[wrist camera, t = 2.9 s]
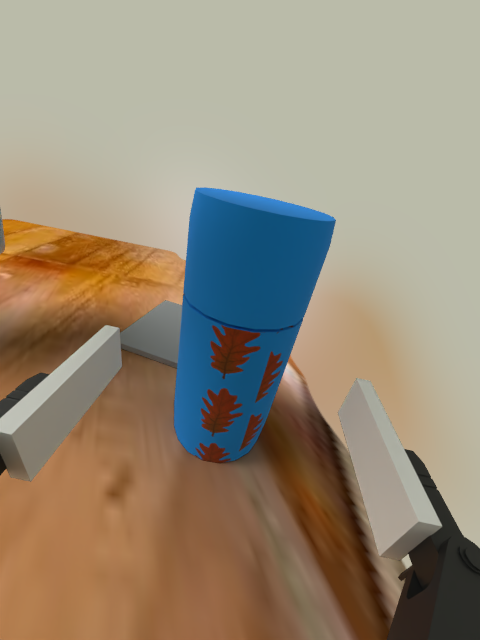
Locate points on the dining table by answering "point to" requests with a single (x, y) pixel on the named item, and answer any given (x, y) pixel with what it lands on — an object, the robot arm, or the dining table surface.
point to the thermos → (241, 314)
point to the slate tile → (156, 334)
